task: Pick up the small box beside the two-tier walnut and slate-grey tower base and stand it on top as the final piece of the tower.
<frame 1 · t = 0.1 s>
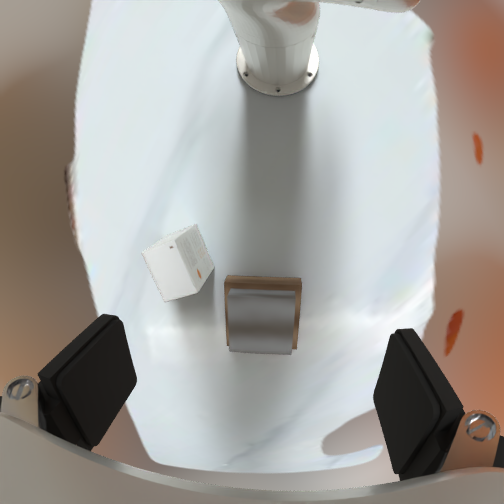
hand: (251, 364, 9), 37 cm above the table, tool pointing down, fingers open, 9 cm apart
tower base: (263, 309, 49), on the table
small box: (192, 250, 48), on the table
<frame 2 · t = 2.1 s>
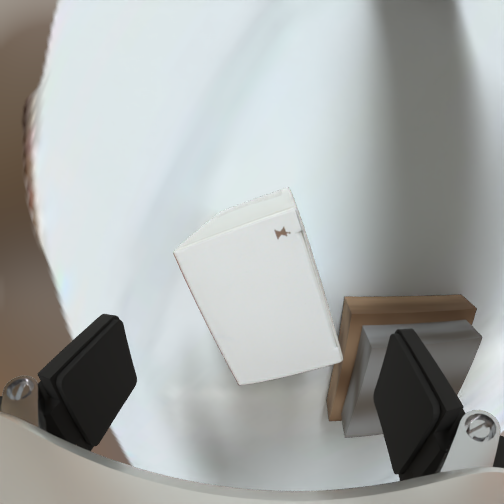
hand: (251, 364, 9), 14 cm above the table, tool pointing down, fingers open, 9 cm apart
tower base: (395, 352, 24), on the table
small box: (272, 246, 22), on the table
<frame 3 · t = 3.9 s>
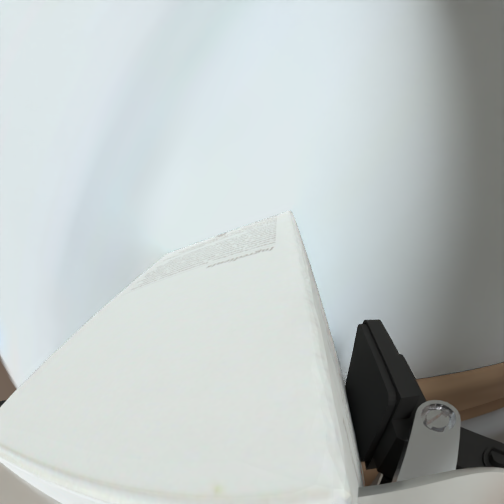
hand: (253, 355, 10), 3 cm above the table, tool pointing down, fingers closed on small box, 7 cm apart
tower base: (429, 435, 14), on the table
small box: (260, 314, 13), on the table, touching gripper
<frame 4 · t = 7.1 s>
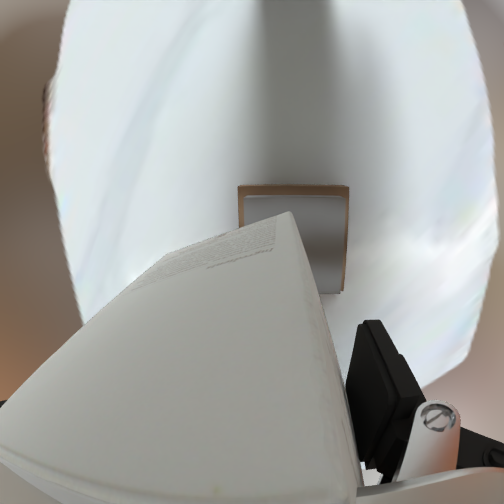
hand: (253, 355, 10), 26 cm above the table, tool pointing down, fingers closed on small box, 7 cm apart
tower base: (293, 234, 35), on the table
small box: (260, 314, 13), point 23 cm above the table, touching gripper
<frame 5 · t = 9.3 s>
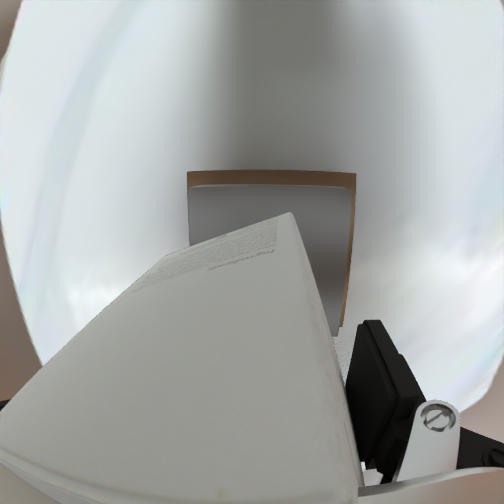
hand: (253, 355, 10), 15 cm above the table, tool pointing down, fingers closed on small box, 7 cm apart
tower base: (271, 243, 24), on the table
small box: (260, 315, 13), point 12 cm above the table, touching gripper
when the fingers open (10 cm above the table, at t = 10.9 s): small box drops 1 cm, resting on tower base.
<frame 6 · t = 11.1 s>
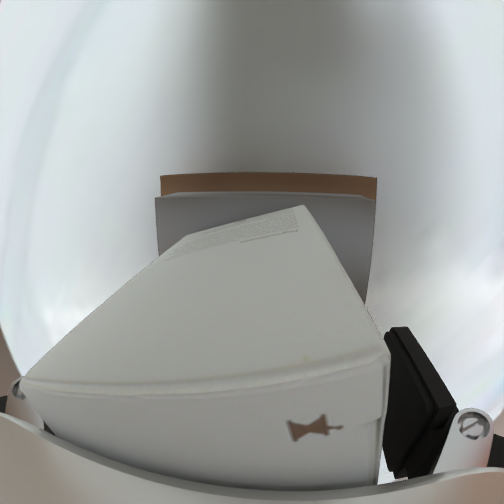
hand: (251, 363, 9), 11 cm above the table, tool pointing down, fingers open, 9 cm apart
tower base: (268, 263, 19), on the table
small box: (267, 297, 14), point 6 cm above the table, touching tower base
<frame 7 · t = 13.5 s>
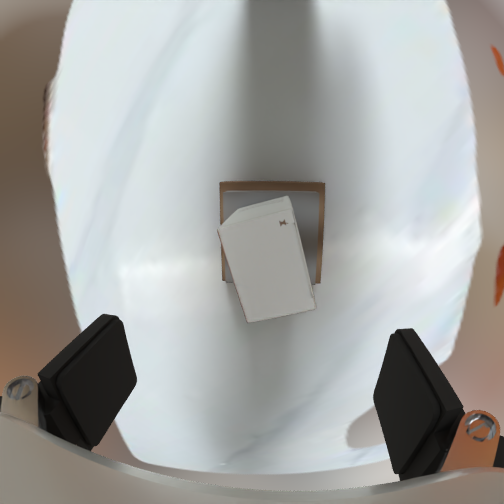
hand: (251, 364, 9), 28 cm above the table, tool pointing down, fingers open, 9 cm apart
tower base: (272, 228, 37), on the table
small box: (273, 237, 31), point 6 cm above the table, touching tower base
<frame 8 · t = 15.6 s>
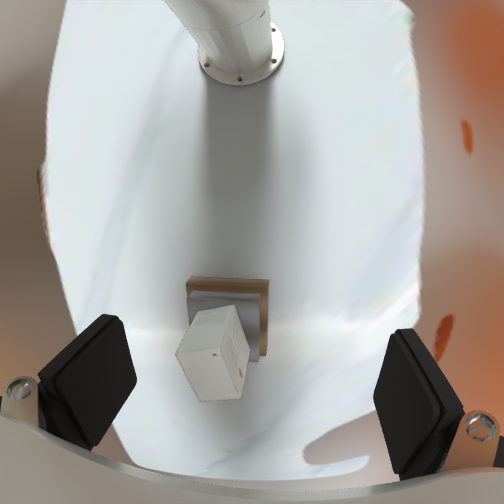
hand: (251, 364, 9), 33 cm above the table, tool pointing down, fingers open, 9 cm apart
tower base: (230, 312, 46), on the table
small box: (225, 330, 40), point 6 cm above the table, touching tower base
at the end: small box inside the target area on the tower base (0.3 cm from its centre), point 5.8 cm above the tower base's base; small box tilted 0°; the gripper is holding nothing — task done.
